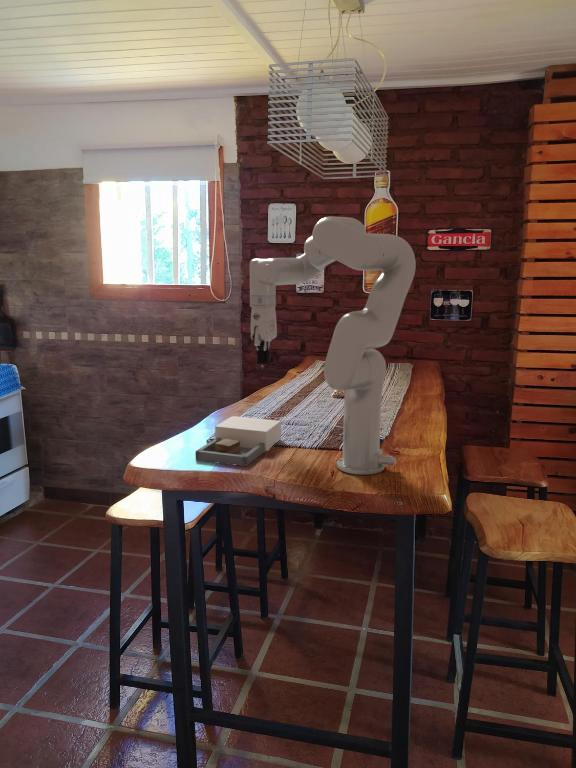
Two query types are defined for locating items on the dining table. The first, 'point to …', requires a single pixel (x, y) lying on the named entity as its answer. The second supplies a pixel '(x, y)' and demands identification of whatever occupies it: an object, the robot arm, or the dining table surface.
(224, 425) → the raised plate
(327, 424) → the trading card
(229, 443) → the walnut tile
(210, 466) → the dining table surface
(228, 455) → the box
